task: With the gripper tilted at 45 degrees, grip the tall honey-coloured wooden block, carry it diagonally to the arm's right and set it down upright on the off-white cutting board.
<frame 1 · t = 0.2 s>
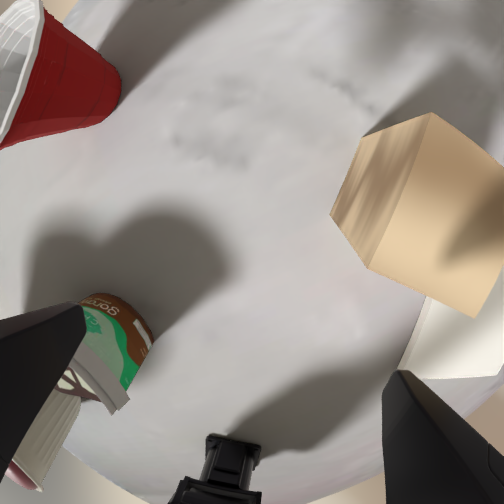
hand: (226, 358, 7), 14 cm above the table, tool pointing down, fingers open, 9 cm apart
plastic cup: (95, 95, 19), on the table
canister: (52, 369, 31), on the table
food container: (108, 309, 25), on the table
wooden block: (382, 194, 19), on the table
cutting board: (486, 291, 19), on the table
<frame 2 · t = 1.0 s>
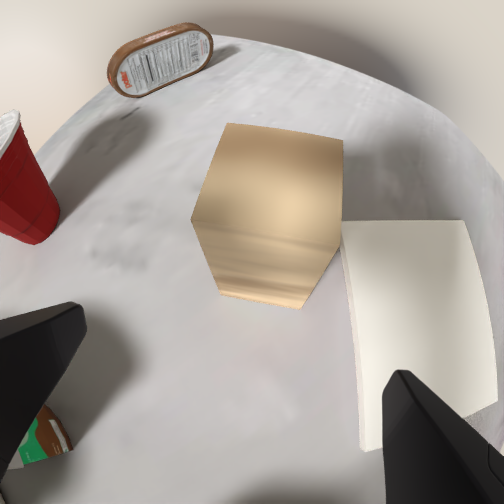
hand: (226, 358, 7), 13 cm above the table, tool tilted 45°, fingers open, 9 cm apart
plastic cup: (40, 222, 25), on the table
food container: (31, 415, 17), on the table
wooden block: (267, 265, 22), on the table
tin: (168, 83, 34), on the table
cutting board: (427, 323, 20), on the table
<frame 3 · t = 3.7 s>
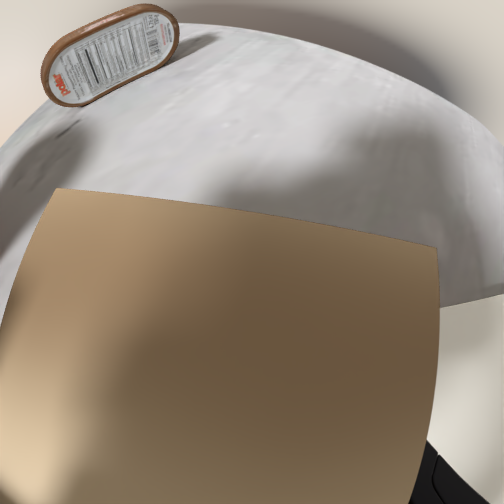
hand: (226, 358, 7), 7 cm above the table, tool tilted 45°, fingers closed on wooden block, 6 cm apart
wooden block: (234, 394, 12), on the table, touching gripper
tin: (121, 85, 24), on the table
cutting board: (463, 447, 10), on the table
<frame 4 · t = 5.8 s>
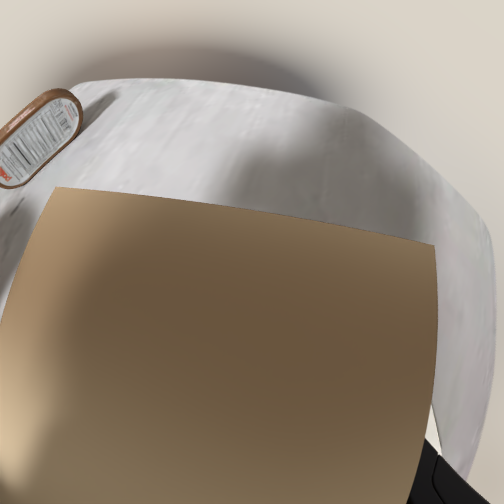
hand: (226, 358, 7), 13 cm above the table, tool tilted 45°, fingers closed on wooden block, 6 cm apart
wooden block: (233, 394, 12), point 7 cm above the table, touching gripper
tin: (48, 160, 29), on the table
cutting board: (336, 407, 18), on the table
when the fingers open (9 cm above the table, at t = 7.8 s): wooden block drops 1 cm, resting on cutting board.
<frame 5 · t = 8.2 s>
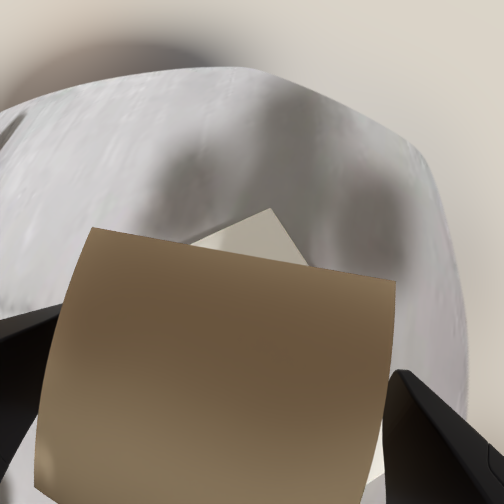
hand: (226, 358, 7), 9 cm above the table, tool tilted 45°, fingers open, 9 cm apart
wooden block: (236, 392, 14), point 1 cm above the table, touching cutting board
cutting board: (237, 392, 15), on the table
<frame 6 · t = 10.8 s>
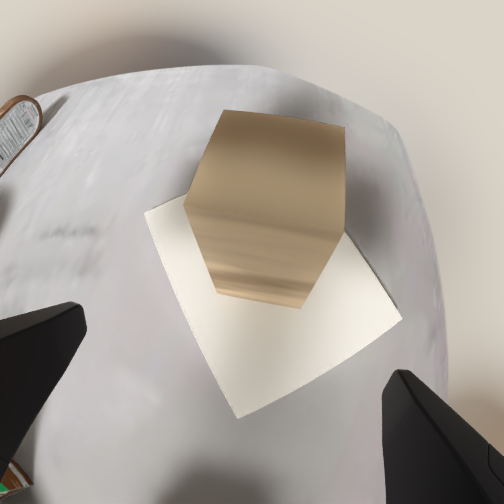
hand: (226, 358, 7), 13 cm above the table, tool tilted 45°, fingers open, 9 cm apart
food container: (1, 468, 13), on the table
wooden block: (266, 263, 21), point 1 cm above the table, touching cutting board
tin: (17, 155, 31), on the table
cutting board: (265, 269, 23), on the table
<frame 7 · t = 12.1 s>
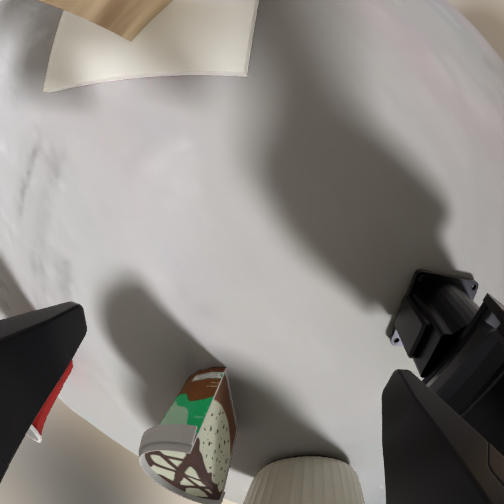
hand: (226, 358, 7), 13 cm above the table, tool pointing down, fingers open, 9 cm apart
plastic cup: (58, 353, 29), on the table
canister: (306, 471, 29), on the table
food container: (203, 396, 26), on the table
cutting board: (145, 3, 14), on the table
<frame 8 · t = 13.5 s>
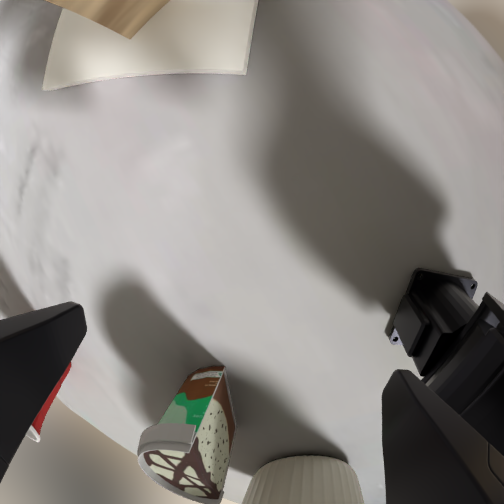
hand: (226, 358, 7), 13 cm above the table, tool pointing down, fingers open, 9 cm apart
plastic cup: (56, 352, 28), on the table
canister: (305, 470, 29), on the table
food container: (202, 395, 26), on the table
cutting board: (145, 1, 14), on the table
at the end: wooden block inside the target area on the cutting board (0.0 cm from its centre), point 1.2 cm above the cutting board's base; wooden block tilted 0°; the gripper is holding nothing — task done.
